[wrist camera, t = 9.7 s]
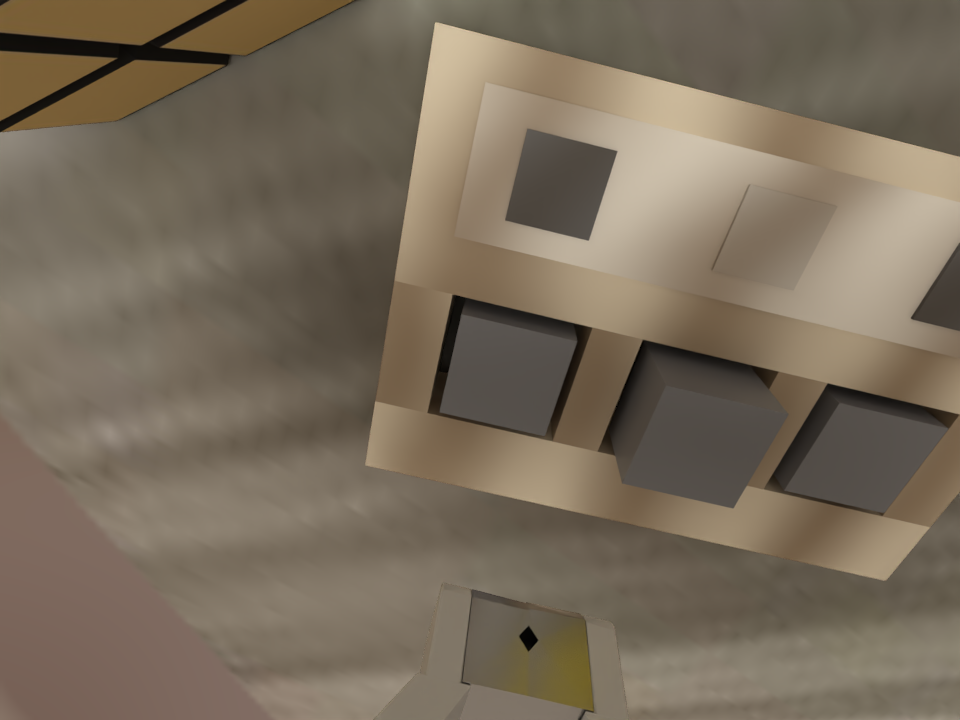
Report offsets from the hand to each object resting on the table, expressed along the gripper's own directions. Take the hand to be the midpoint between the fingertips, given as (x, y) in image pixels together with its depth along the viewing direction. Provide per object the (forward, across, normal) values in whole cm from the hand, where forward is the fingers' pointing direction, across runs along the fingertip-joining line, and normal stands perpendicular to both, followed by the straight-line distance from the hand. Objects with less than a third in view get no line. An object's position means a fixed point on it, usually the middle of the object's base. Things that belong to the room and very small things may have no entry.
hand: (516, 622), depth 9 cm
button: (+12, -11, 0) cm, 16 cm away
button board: (+12, -5, -2) cm, 13 cm away
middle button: (+10, -5, 0) cm, 12 cm away
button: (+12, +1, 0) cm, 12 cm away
